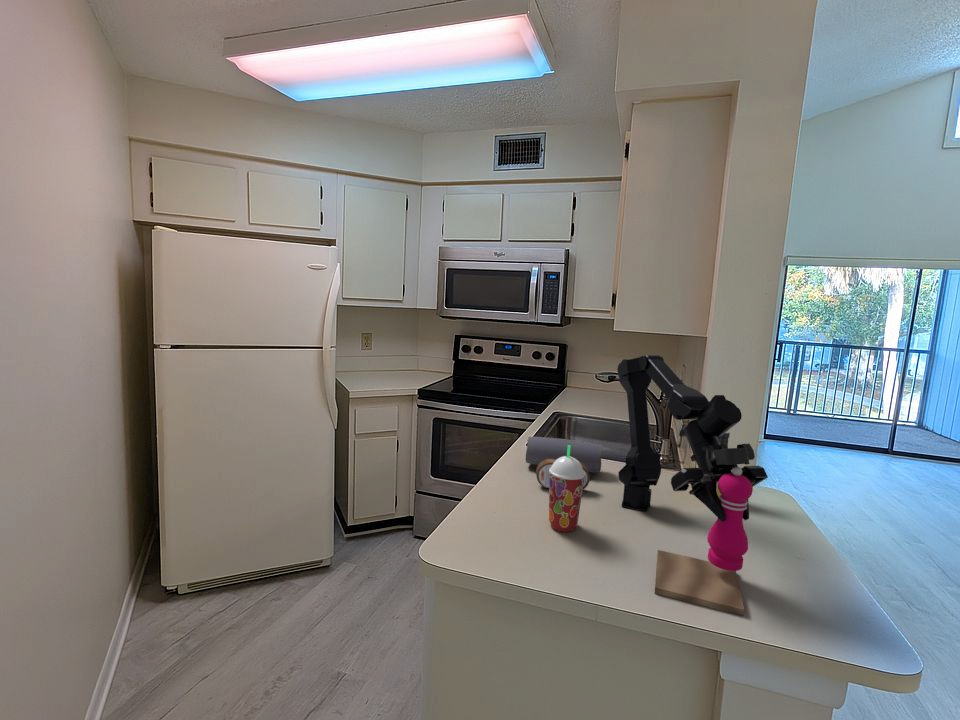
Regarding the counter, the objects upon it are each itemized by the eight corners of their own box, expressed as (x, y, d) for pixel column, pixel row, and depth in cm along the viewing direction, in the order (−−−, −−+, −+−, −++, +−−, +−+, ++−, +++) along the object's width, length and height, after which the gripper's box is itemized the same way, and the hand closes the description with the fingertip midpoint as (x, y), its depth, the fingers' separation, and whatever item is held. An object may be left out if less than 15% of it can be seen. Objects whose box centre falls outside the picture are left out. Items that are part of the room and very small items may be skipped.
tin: (588, 489, 141) (590, 461, 140) (589, 494, 138) (591, 465, 137) (535, 484, 143) (537, 456, 141) (535, 489, 139) (537, 460, 138)
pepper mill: (702, 549, 103) (714, 458, 100) (740, 556, 101) (754, 463, 98) (707, 568, 96) (720, 470, 93) (748, 576, 94) (763, 476, 91)
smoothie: (584, 523, 120) (591, 444, 117) (575, 538, 113) (582, 454, 110) (550, 515, 124) (556, 437, 121) (540, 529, 116) (546, 447, 113)
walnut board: (654, 593, 93) (655, 587, 93) (657, 555, 107) (658, 549, 107) (743, 616, 88) (744, 609, 88) (734, 572, 102) (735, 567, 102)
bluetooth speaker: (599, 470, 157) (602, 439, 156) (599, 480, 148) (602, 448, 147) (528, 460, 162) (530, 431, 161) (524, 470, 153) (526, 439, 152)
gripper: (686, 429, 96) (717, 508, 87) (767, 428, 100) (805, 503, 92) (659, 453, 105) (684, 528, 96) (735, 451, 109) (766, 522, 100)
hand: (735, 520), depth 96 cm, fingers closed on pepper mill, 5 cm apart
